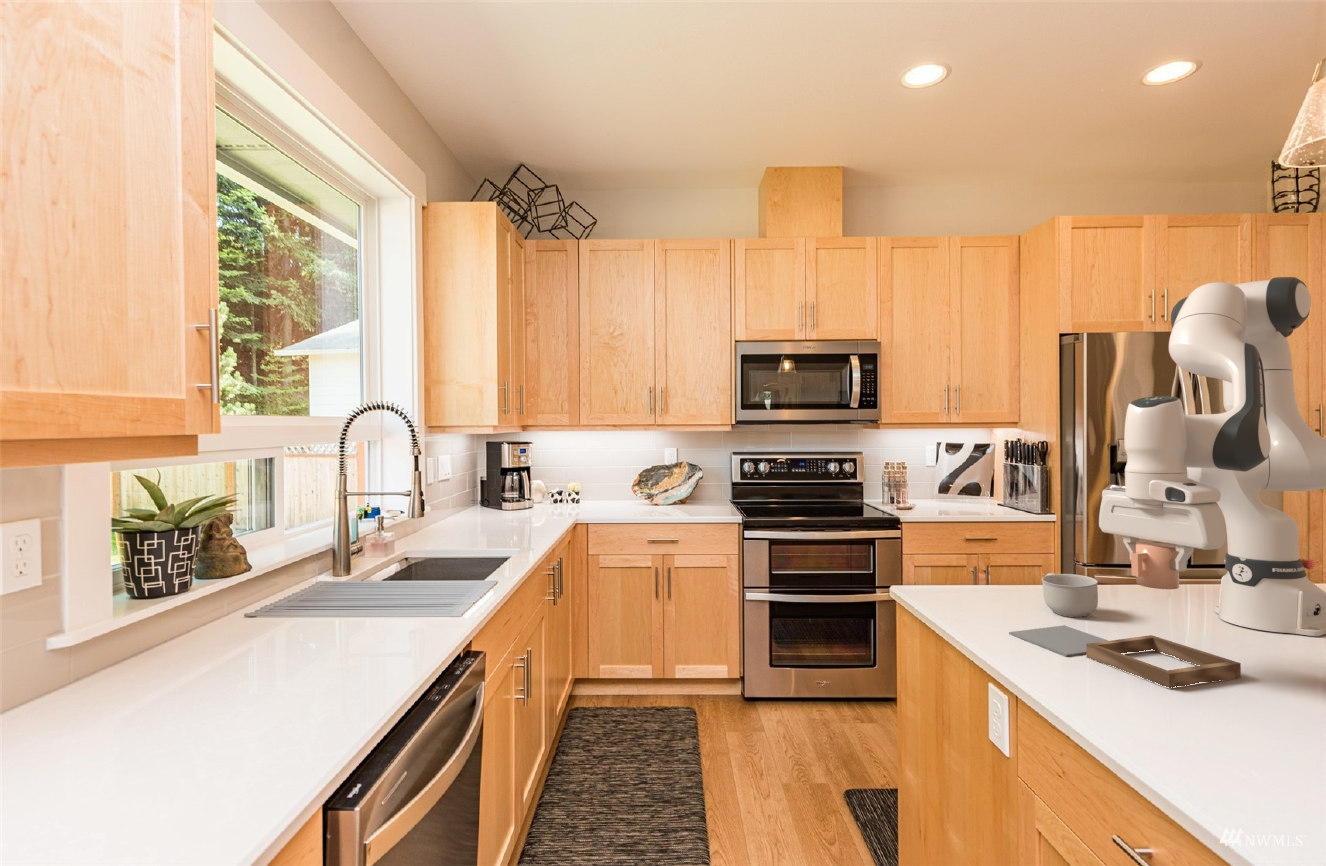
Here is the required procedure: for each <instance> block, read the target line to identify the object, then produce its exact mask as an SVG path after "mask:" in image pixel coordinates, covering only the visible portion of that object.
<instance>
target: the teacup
mask: <svg viewBox="0 0 1326 866" xmlns="http://www.w3.org/2000/svg"><path fill="white" fill-rule="evenodd" d="M1041 582H1042V593H1043V600H1044V603H1045V604H1046V606H1047V607H1048V609H1050V610H1052V612H1053V613H1055V614H1057V615H1059V614H1061V615H1060V616H1063V615H1065V616H1064V617H1068V616H1073V617H1072V618H1081V617H1082V616H1084V617H1087V616H1089V615H1090V614H1091V613H1093V612H1094V611H1096V609H1097V608H1098V604H1099V603H1098V602H1099V592H1098V584H1099V582H1098V580H1097V579H1096V578H1093V577H1090V576H1087V575H1082V574H1081V575H1080V574H1073V573H1054V572H1049V573H1047V574H1046V575H1045V576H1042V577H1041Z"/></svg>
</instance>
